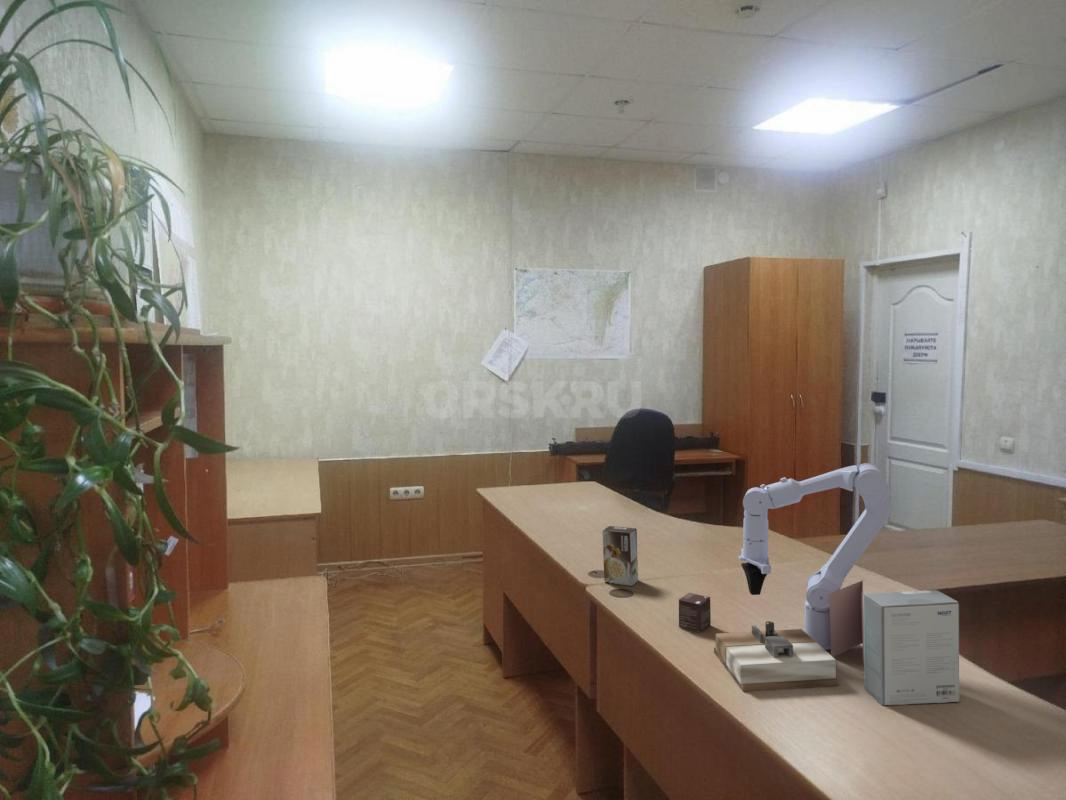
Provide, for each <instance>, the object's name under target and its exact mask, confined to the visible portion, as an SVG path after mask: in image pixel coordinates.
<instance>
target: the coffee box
mask: <svg viewBox="0 0 1066 800" xmlns="http://www.w3.org/2000/svg"><path fill="white" fill-rule="evenodd" d="M637 529H638V528H635V527H625V526H613V525H609V526H607V527H606V528H604V529H603V530H602V552H603V553H602V554H603V582H604V581H605V582H609V583H608V584H613V583H614V584H615V585H622V586H630V587H632V586H634V585H635V584H636V583H637V582H639V573H638V572H639V571H638V570H639V569H638V566H639V565H638V562H639V561H638V540H637V539H638V536H637V535H638V532H637ZM605 582H604V583H605Z"/></svg>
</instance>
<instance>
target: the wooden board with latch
mask: <svg viewBox="0 0 1066 800" xmlns="http://www.w3.org/2000/svg"><path fill="white" fill-rule="evenodd" d="M765 635H766V630H760V629H759V628H758V626H756V625H751V631H738V632H719V633H715V647H713V653H714V654H715V656H716V657H717V658H718V660H719V661H720V663H721V664H722V665H723V666H724V668H725V669H726V670H727V672H728V674H729V675H730V676H731V677H732V679H733V680H734V681H735V682H736V685H738V687H739V688H740V690H741V691H742V692H748V691H749V692H750V691H751V692H752V691H769V690H782V689H783V690H784V689H785V690H786V689H803V688H820V687H822V688H823V687H838V686H839V680H838V679H837V675H836V674H837V673H836V672H837V671H836V670H837V669H836V666H837V665H836V664H837V663H836V661H837V660H836V658H835V657H832V656H831V653H829V652H828V651H827V650H824V649H823V648H822V647H821V646H820V645H819V644H818V643H817V642H815V641H814V640H813V639H812V638H811V637H810V636H809V635H808V634H807V633H805V630H803V629H802V628H795V629H794V628H793V629H792V628H791V629H777V630H775V629H774V636H769V637H765ZM778 649H784V653H778Z"/></svg>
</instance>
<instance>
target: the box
mask: <svg viewBox="0 0 1066 800" xmlns="http://www.w3.org/2000/svg"><path fill="white" fill-rule="evenodd" d="M711 615H712V614H711V597H710V596H707V595H701V594H697V593H692V592H688V593H687V594H685V595H684V596H682V597H680V598H679V599H678V627H679V628H680V629H685V630H688V631H689V630H690V631H693V632H697V633H701V632H703V631H705V630H706V629H707V628H708V627H710V626H711V623H712V622H711Z"/></svg>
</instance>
